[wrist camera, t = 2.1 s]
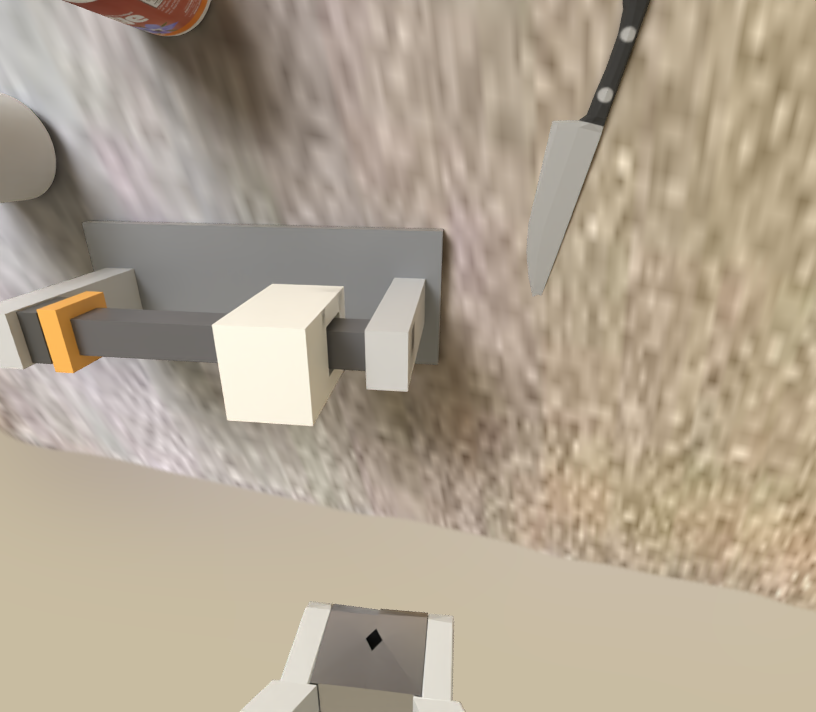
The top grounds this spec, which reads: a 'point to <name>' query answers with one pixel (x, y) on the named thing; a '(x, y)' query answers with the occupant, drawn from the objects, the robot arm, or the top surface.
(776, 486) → the top surface
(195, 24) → the pill bottle
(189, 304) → the grey slider rail base
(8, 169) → the beverage can
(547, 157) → the chef's knife
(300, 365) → the cream sliding block
